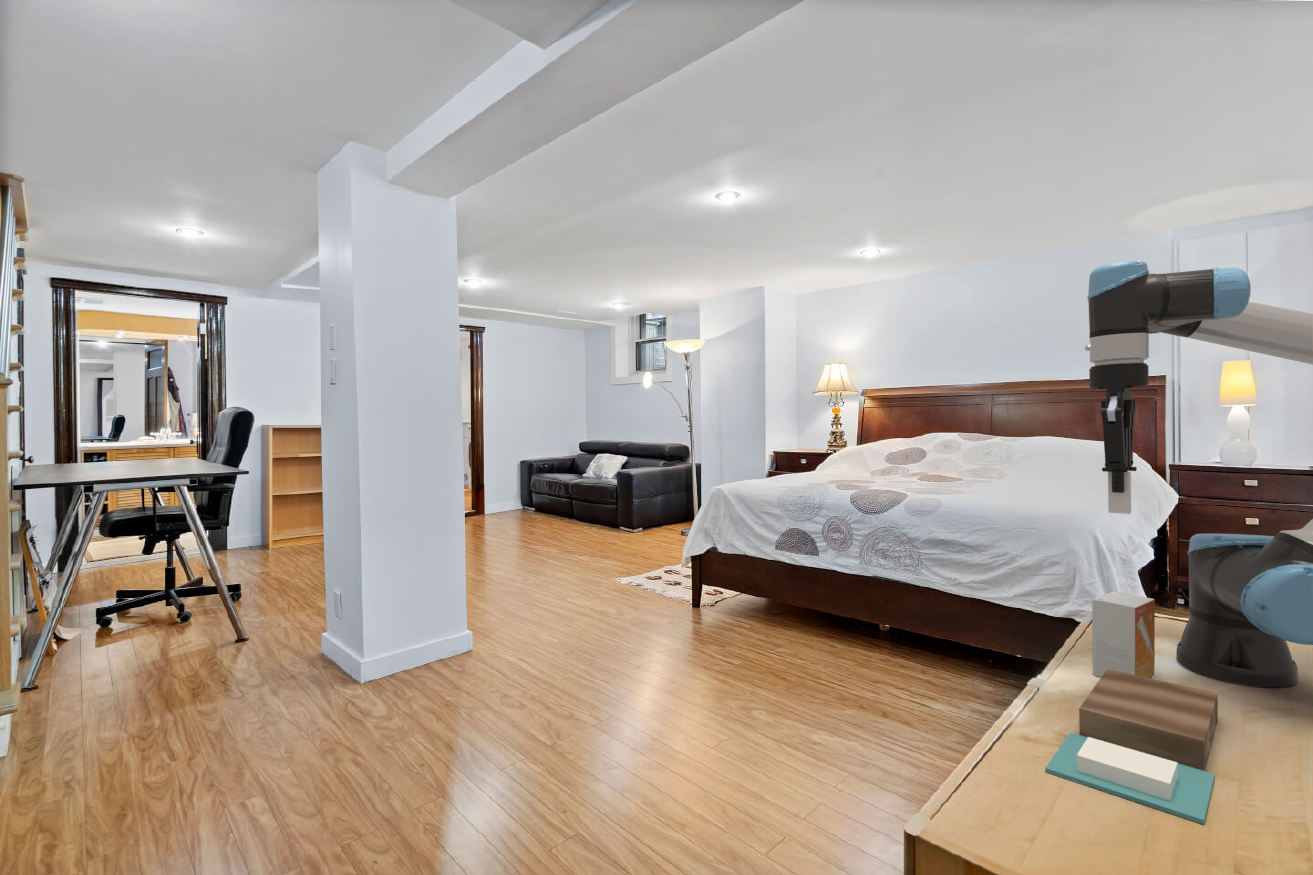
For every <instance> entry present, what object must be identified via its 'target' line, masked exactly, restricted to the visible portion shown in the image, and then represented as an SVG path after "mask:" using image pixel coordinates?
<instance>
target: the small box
mask: <svg viewBox="0 0 1313 875" xmlns="http://www.w3.org/2000/svg"><path fill="white" fill-rule="evenodd" d="M1091 604H1092V605H1091V606H1092V609H1091V610H1092V612H1091V613H1092V620H1091V621H1092V623H1091V624H1092V627H1091V628H1092V672H1091V673H1092V675H1093V676H1096V677H1098V678H1099V677H1100V678H1101V677H1102V676H1103V674H1104V673H1105V671H1106V670H1107V669H1110V670H1114V671H1119V672H1124V673H1128V674H1133V675H1137V676H1142V677H1147V678H1152V677H1153V676H1155V665H1156V664H1155V645H1156V644H1155V641H1156V640H1155V639H1156V638H1155V633H1156V632H1155V629H1156V628H1155V625H1156V624H1155V623H1156V622H1155V620H1156V618H1155V613H1156V612H1155V609H1156V608H1155V607H1156V605H1155V604H1156V599H1154V598H1150V597H1145V596H1139V595H1135V594H1128V593H1124V592H1120V591H1114V590H1113V591H1111V592H1108V593H1105V594H1102V595H1100V596H1097V597H1096V598H1094V599H1092V603H1091Z"/></svg>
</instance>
